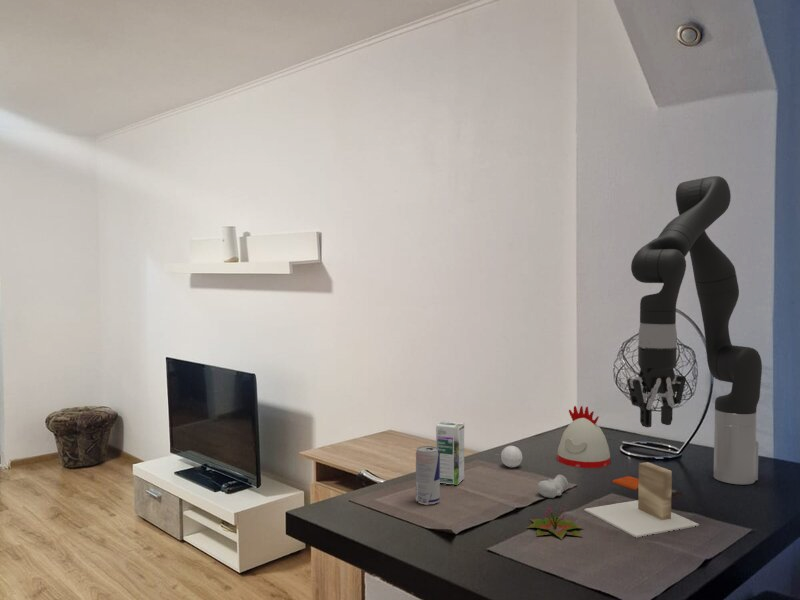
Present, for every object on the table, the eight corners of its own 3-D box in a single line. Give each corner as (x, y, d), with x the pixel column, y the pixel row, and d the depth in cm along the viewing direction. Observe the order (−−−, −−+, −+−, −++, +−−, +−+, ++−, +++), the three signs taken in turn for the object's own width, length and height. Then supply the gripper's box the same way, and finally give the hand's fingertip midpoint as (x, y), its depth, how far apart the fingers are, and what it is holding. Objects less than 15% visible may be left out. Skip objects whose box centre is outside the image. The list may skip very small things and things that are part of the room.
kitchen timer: (569, 451, 194) (569, 399, 193) (616, 459, 186) (617, 405, 185) (549, 462, 183) (550, 407, 182) (599, 471, 175) (600, 413, 174)
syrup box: (435, 483, 164) (435, 424, 163) (442, 477, 170) (443, 419, 169) (457, 486, 162) (457, 426, 161) (464, 479, 167) (464, 421, 167)
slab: (647, 507, 146) (648, 462, 146) (671, 518, 140) (672, 470, 139) (638, 509, 145) (638, 463, 145) (661, 520, 139) (662, 472, 138)
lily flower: (521, 519, 142) (521, 498, 142) (578, 520, 141) (578, 498, 141) (529, 542, 130) (529, 519, 130) (592, 543, 129) (592, 519, 129)
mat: (643, 501, 152) (643, 499, 151) (698, 526, 137) (698, 524, 137) (584, 510, 146) (584, 508, 146) (635, 537, 131) (636, 535, 131)
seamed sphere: (525, 466, 179) (525, 445, 179) (517, 471, 174) (517, 449, 174) (499, 461, 183) (499, 441, 183) (490, 466, 178) (490, 445, 178)
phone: (628, 475, 169) (682, 491, 156) (628, 480, 169) (682, 496, 156) (611, 479, 165) (665, 496, 152) (611, 484, 165) (665, 502, 153)
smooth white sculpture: (547, 505, 152) (532, 492, 156) (572, 498, 157) (557, 486, 161) (551, 489, 151) (536, 476, 155) (576, 482, 155) (560, 470, 159)
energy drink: (443, 499, 153) (443, 447, 152) (434, 507, 148) (434, 453, 147) (421, 496, 155) (421, 444, 154) (412, 503, 150) (412, 450, 150)
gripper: (670, 341, 147) (669, 419, 148) (617, 344, 142) (616, 424, 143) (697, 345, 140) (696, 426, 141) (642, 348, 135) (641, 432, 136)
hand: (656, 425), depth 142 cm, fingers open, 4 cm apart
